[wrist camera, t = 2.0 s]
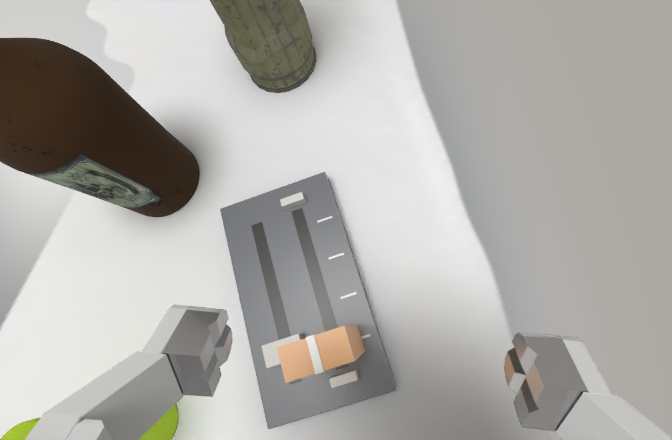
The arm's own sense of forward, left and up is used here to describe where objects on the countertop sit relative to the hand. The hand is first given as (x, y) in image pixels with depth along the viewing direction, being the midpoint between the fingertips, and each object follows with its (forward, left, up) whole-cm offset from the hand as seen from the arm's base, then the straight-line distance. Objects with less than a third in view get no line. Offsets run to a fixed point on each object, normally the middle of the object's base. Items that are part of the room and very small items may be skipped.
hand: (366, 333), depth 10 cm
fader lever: (0, +5, -24) cm, 24 cm away
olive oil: (+24, +20, -26) cm, 41 cm away
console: (+6, +7, -26) cm, 28 cm away
